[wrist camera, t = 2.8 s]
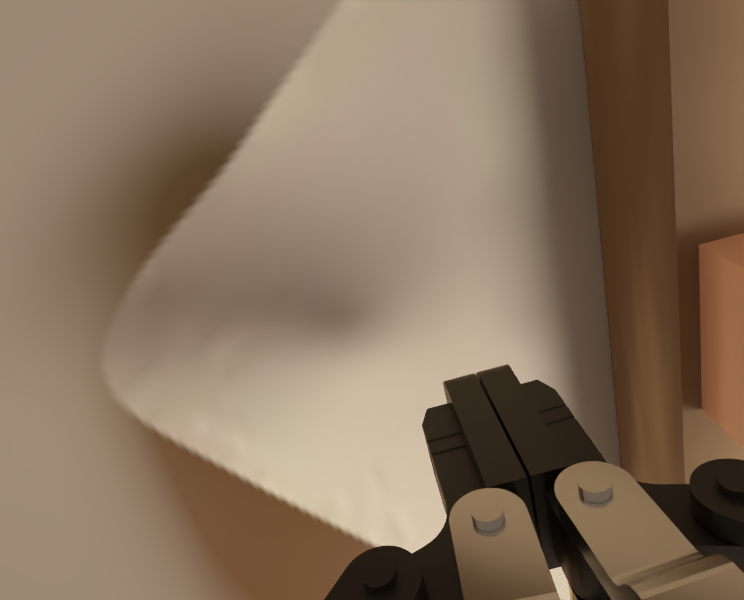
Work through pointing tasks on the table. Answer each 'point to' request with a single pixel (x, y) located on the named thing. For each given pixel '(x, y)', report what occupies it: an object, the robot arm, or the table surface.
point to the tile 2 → (723, 333)
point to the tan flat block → (664, 209)
